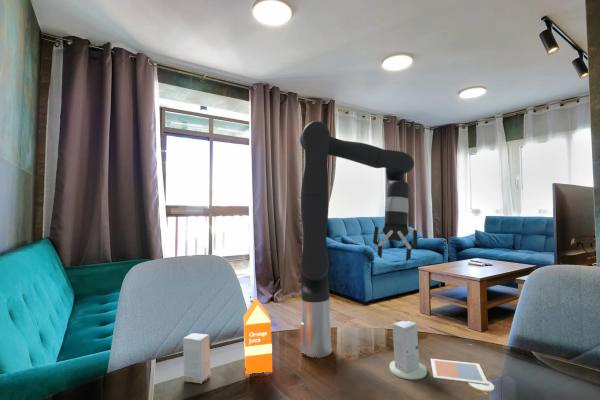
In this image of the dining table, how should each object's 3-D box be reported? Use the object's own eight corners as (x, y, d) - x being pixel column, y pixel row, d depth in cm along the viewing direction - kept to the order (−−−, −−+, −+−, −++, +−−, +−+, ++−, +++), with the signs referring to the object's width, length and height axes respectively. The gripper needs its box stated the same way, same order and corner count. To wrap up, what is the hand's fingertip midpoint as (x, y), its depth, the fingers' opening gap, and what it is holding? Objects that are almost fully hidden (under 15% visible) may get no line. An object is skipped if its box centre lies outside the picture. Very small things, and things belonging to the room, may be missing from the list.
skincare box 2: (407, 373, 84) (404, 328, 85) (393, 367, 88) (391, 323, 89) (420, 366, 88) (418, 323, 88) (407, 360, 92) (405, 319, 92)
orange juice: (245, 378, 87) (243, 305, 87) (244, 363, 95) (242, 297, 96) (273, 374, 88) (271, 303, 89) (269, 360, 97) (267, 295, 98)
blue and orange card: (433, 377, 83) (433, 377, 83) (430, 359, 94) (430, 358, 94) (488, 384, 79) (488, 383, 79) (479, 364, 89) (479, 363, 89)
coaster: (388, 376, 85) (388, 373, 85) (390, 360, 94) (390, 357, 94) (428, 381, 81) (428, 378, 81) (425, 364, 91) (425, 361, 91)
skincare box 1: (211, 377, 88) (210, 334, 88) (201, 385, 84) (200, 340, 84) (193, 374, 90) (192, 332, 90) (183, 382, 86) (182, 338, 86)
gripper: (374, 208, 105) (371, 257, 103) (419, 211, 100) (416, 262, 98) (376, 211, 112) (373, 256, 110) (418, 214, 107) (415, 261, 105)
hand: (393, 259), depth 104 cm, fingers open, 8 cm apart
